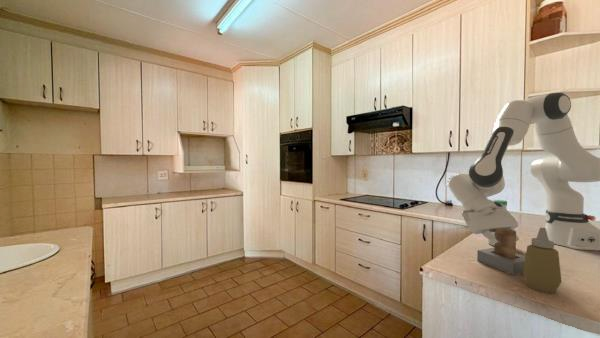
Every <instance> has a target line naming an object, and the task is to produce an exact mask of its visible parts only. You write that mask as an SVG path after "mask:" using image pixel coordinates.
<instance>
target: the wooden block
mask: <svg viewBox="0 0 600 338" xmlns="http://www.w3.org/2000/svg"><path fill="white" fill-rule="evenodd" d="M516 235H517V231H516V230H515V231H513V230H509V229H505V228H499V229H495V237H497V238H498V240H500V242H499V243H497V244H494V246H493V248H494V254H497V255H500V256H503V257H505V258H508V259H515V258H516V254H517V251H516V250H517V249H516V248H517V247H516V246H517V241H516Z"/></svg>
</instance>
